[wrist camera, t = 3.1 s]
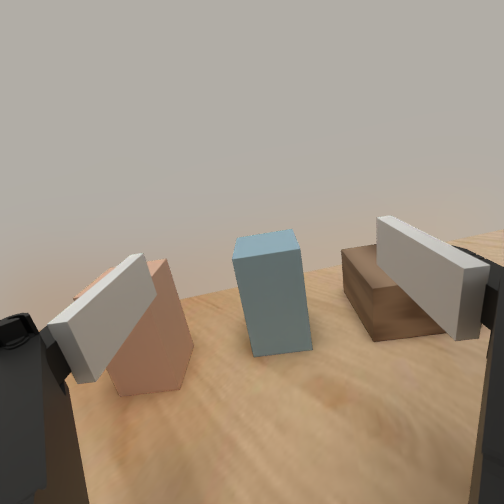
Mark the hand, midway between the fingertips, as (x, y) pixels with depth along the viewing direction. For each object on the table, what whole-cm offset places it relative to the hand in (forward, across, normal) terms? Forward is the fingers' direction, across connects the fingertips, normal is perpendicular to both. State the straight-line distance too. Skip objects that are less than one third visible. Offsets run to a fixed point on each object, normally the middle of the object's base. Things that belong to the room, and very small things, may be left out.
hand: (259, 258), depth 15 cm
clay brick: (+8, +13, +14) cm, 21 cm away
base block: (+13, -14, +14) cm, 24 cm away
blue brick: (+11, 0, +14) cm, 18 cm away
